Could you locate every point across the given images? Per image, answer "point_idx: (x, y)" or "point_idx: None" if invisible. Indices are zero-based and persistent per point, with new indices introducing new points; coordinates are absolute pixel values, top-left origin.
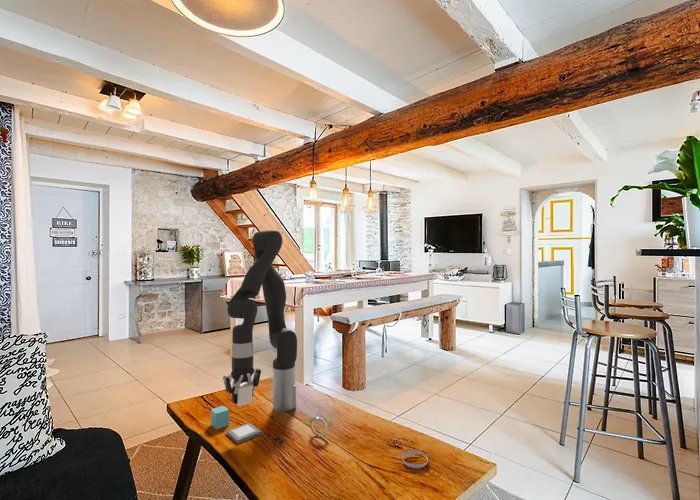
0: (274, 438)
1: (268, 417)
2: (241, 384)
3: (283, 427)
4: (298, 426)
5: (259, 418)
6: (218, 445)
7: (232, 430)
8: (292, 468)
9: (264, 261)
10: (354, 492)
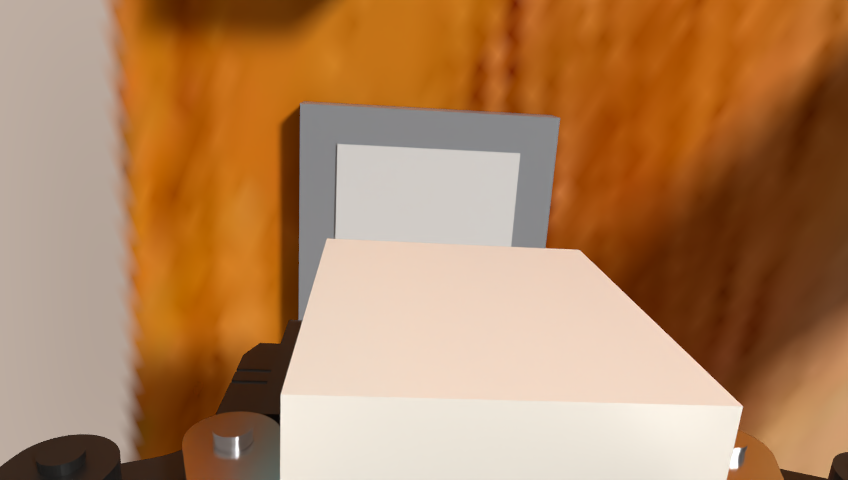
0: None
1: (787, 95)
2: (530, 478)
3: (728, 369)
4: (813, 440)
5: (718, 42)
6: (164, 238)
7: (347, 148)
8: None
9: None
10: None
